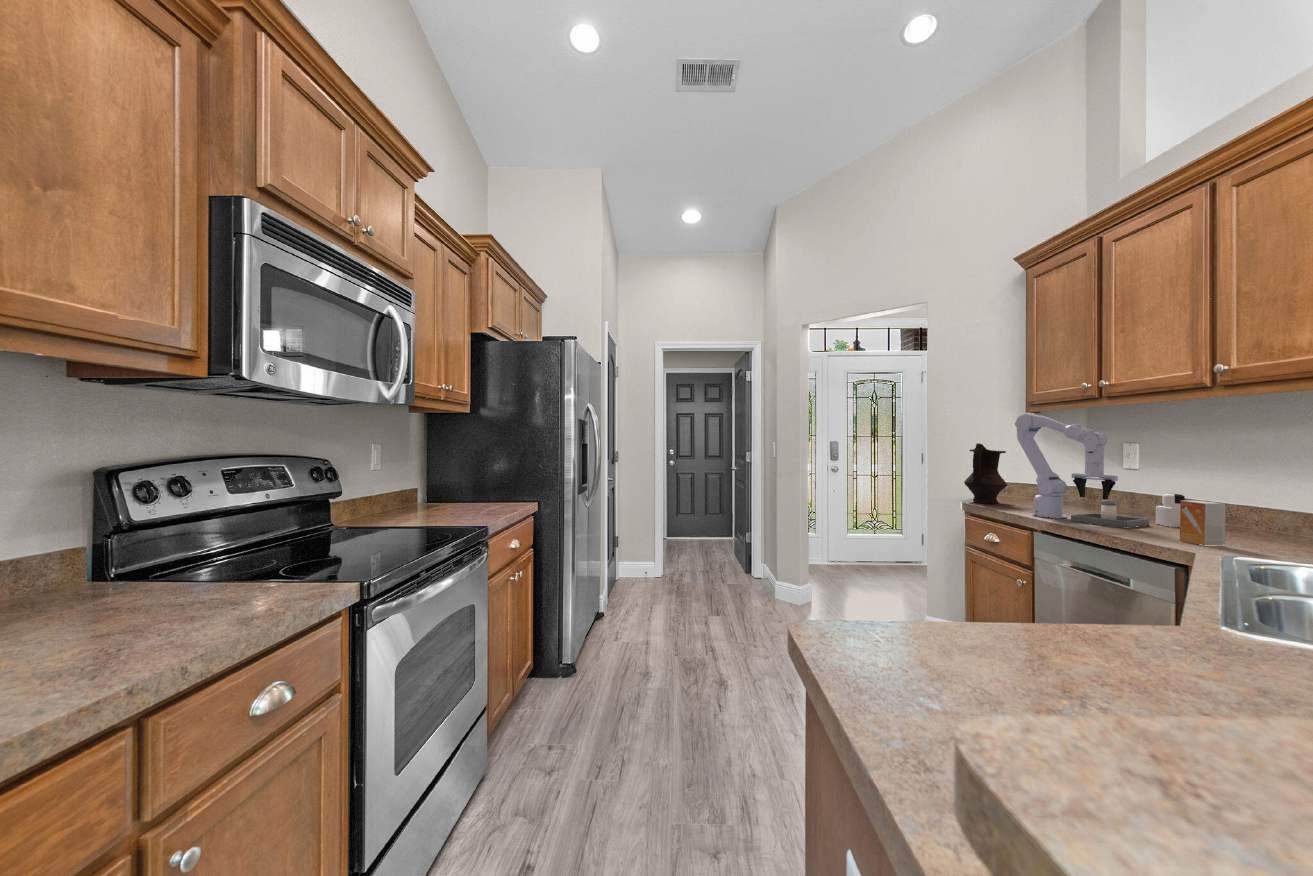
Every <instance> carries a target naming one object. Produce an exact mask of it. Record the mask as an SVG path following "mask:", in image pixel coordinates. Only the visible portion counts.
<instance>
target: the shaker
mask: <svg viewBox="0 0 1313 876" xmlns="http://www.w3.org/2000/svg"><path fill="white" fill-rule="evenodd" d="M1117 504H1118V501H1117V500H1113V499H1112V500H1111V499H1107V500H1103V499H1100V506H1101V507H1100V508H1101V509H1100V511H1101V513H1100V514H1101V518H1103V519H1111V520H1116V516H1117Z"/></svg>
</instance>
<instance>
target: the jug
mask: <svg viewBox="0 0 1313 876" xmlns="http://www.w3.org/2000/svg"><path fill="white" fill-rule="evenodd" d="M969 452H973V455H972V472H971V473H970V475H969V476H968V477H967V478H966V479H965V480H964V482H963V483H964V485H965V486H966V487H967V488H968V490H969V491H970V492H971V494H972V495H973V499H972V502H974V503H979V504H989V505H997V504H999V502H1000V501H998V499H997V498H998V496H999V494H1000V493H1001V492H1002V491H1003V490H1004V489H1006V487H1007V486H1008V484H1007V482H1006V481H1005V479H1004V478H1003V477H1002V476H1001V474H1000V473H999V469H998V468H999V462H1000V457H1001V454H1006V453H1007V451H1006V450H995V449H994V450H993V449H987V448H986V447H985V446H984V445H983V443H980V442H978V443H976V444H975V447H974V448H972V449H969Z"/></svg>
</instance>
